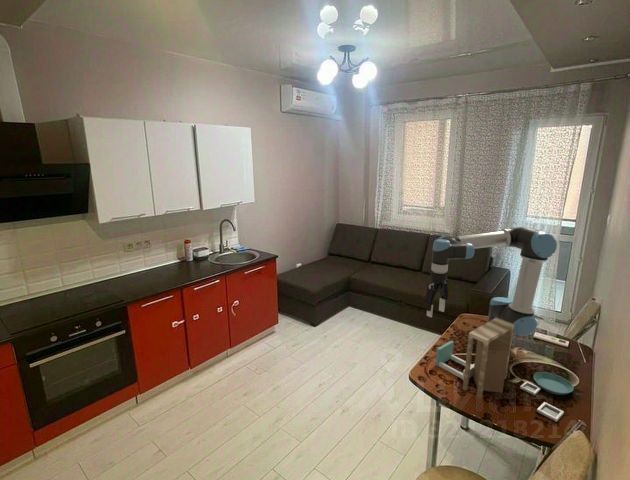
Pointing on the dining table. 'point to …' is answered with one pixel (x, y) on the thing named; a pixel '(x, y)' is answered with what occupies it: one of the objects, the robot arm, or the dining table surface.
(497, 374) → the wooden block
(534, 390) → the pit side
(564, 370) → the dining table surface
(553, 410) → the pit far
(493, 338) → the beige tall open frame
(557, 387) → the saucer
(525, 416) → the dining table surface
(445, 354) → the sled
